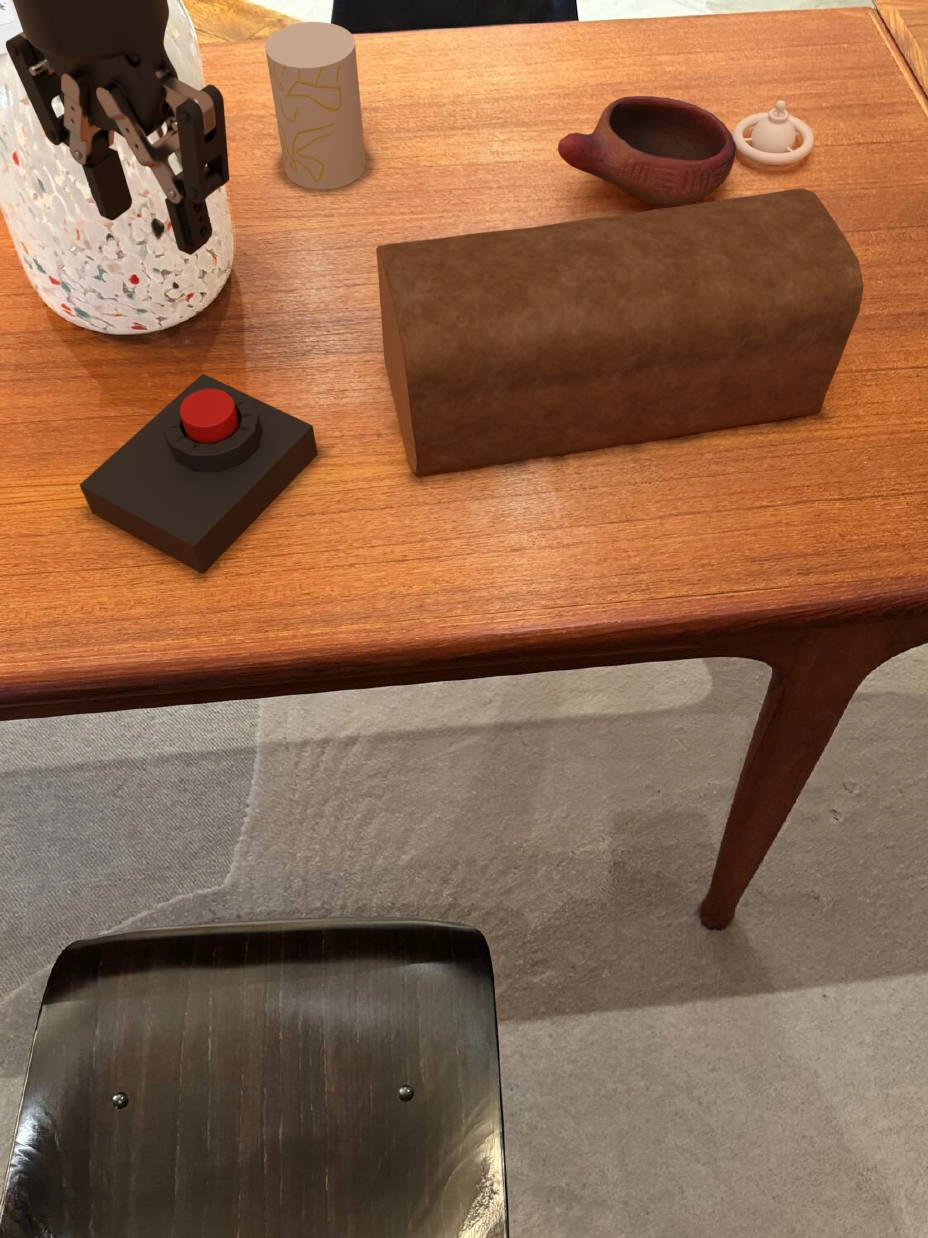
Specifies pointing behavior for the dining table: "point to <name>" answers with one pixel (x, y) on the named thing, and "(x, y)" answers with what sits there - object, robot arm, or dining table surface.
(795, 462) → the dining table surface
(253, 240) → the dining table surface
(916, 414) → the dining table surface
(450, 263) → the bread
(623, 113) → the bowl
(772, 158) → the ring around a ball
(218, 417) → the power button
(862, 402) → the dining table surface
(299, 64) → the cup
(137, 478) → the red push button box
